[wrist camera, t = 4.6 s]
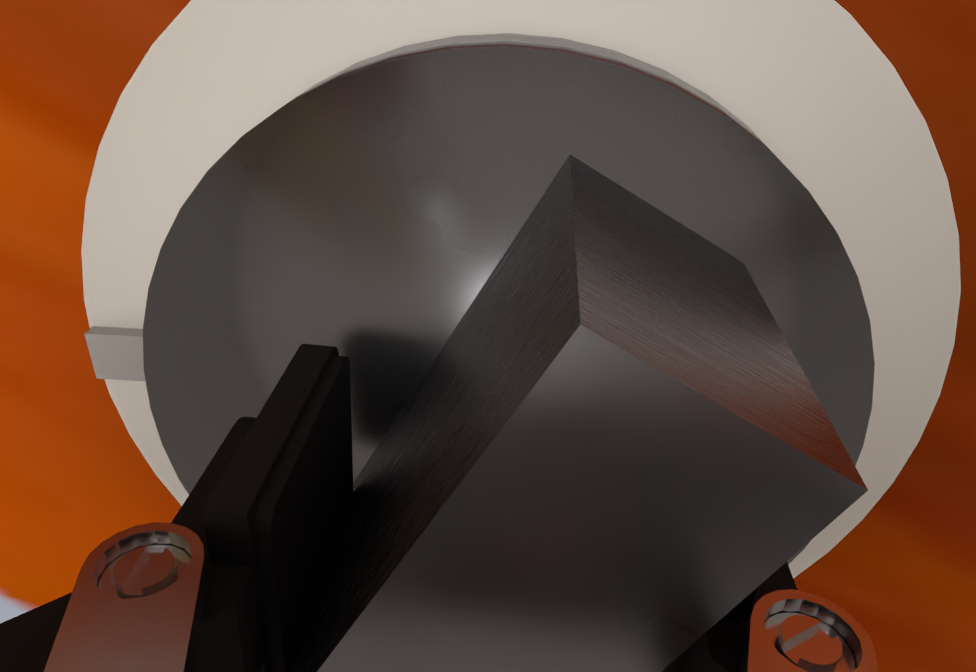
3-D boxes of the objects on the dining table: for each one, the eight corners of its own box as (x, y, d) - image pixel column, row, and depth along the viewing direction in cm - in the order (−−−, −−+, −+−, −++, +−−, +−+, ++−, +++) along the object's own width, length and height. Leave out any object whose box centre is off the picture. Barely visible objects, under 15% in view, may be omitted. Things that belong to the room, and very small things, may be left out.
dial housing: (1007, -109, 13) (1141, -117, 10) (798, 582, 20) (839, 692, 17) (77, -123, 13) (-52, -135, 11) (218, 542, 21) (165, 639, 18)
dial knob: (350, -144, 10) (90, -225, 4) (1001, 290, 12) (1376, 603, 7) (102, 449, 16) (-157, 753, 10) (587, 678, 18) (603, 1032, 12)
